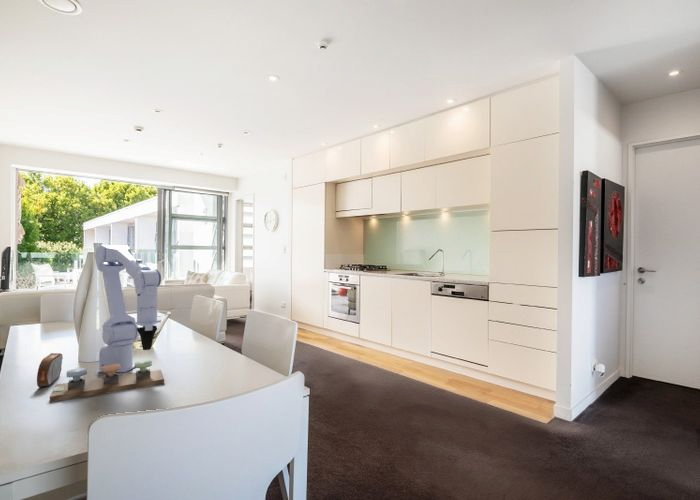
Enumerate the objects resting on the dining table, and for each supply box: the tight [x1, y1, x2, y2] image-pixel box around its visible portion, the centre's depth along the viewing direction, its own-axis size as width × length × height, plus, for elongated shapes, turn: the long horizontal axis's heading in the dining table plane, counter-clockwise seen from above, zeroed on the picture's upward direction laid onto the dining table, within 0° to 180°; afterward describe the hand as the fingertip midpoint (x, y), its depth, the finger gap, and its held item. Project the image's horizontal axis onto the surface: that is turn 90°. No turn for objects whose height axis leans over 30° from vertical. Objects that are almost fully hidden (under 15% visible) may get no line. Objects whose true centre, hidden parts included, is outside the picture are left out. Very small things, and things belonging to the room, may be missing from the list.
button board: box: [49, 368, 165, 403], centre depth 114 cm, size 28×11×3 cm, turn 122°
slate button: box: [65, 367, 88, 382], centre depth 109 cm, size 5×5×3 cm
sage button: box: [134, 359, 153, 373], centre depth 118 cm, size 5×5×3 cm
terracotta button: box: [101, 364, 121, 377], centre depth 114 cm, size 5×5×3 cm
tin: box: [36, 352, 63, 388], centre depth 117 cm, size 15×3×8 cm, turn 23°
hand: (146, 349), depth 121 cm, fingers closed
